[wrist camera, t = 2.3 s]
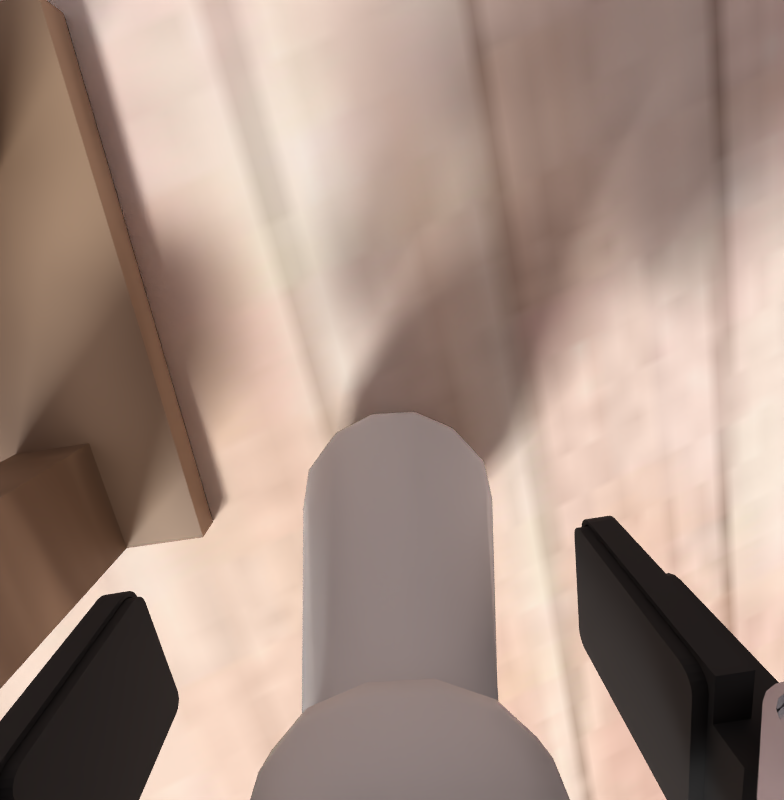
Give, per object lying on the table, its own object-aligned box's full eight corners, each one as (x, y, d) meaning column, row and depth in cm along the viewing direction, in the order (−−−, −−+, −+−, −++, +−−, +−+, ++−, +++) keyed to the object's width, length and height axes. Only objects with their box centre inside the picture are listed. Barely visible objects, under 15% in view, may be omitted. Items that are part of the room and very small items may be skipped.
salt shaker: (477, 388, 16) (766, 802, 4) (477, 536, 18) (681, 1161, 6) (306, 397, 16) (53, 837, 4) (322, 543, 18) (176, 1182, 6)
